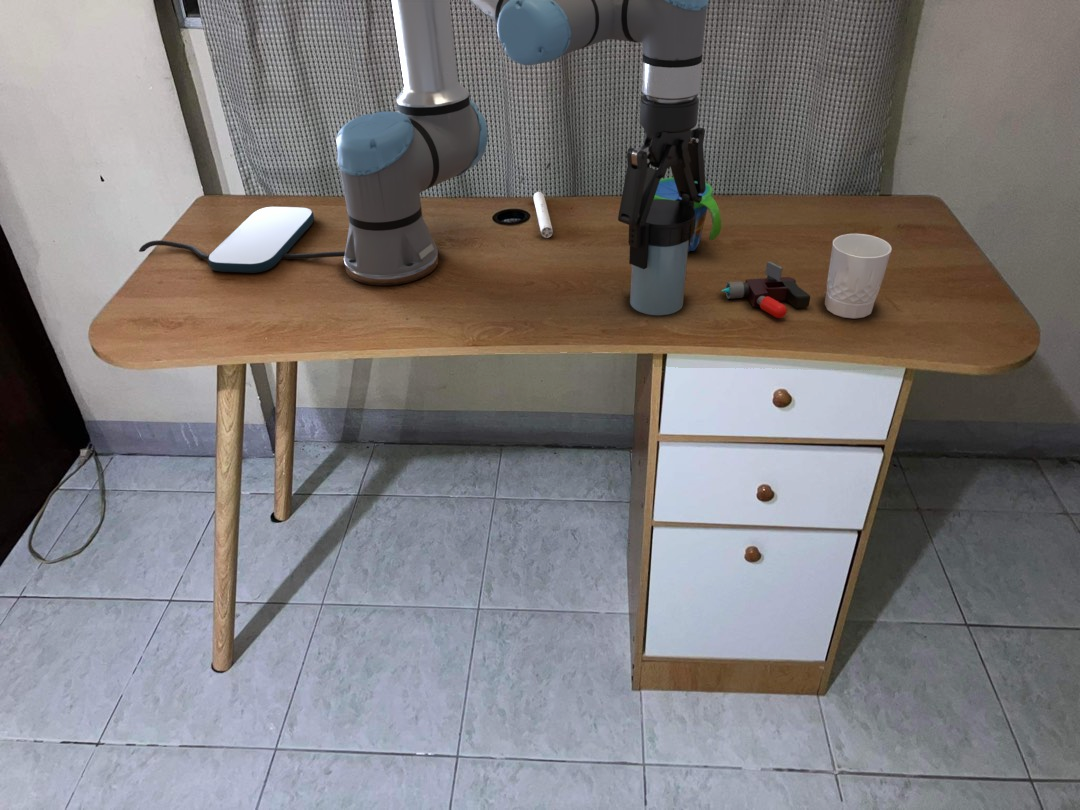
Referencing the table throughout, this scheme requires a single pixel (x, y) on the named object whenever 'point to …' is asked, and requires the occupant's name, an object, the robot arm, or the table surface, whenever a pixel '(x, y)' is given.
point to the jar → (660, 280)
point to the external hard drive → (261, 240)
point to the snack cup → (670, 192)
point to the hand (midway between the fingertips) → (660, 254)
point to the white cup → (855, 274)
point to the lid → (670, 222)
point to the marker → (542, 215)
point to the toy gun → (770, 291)
